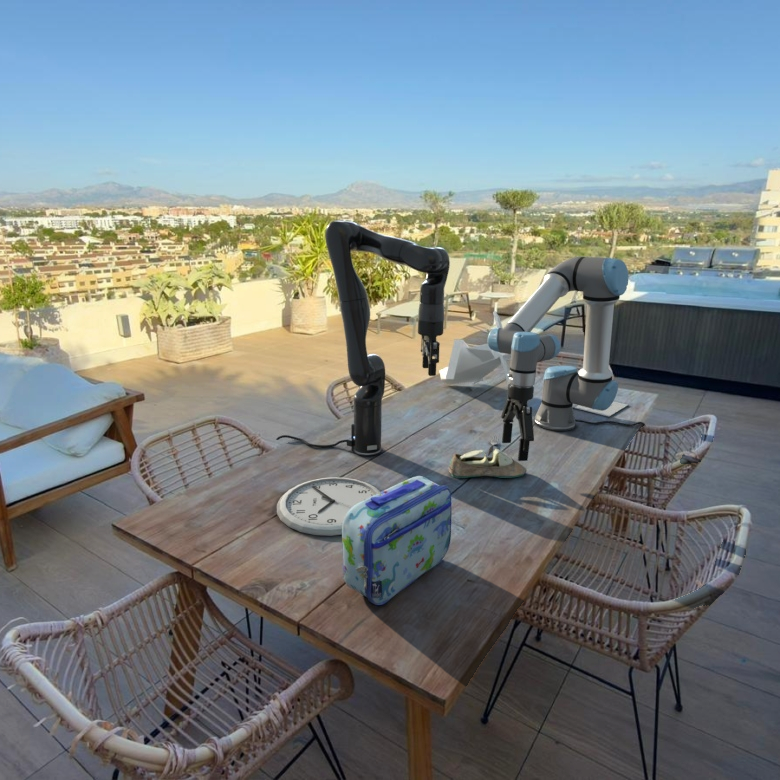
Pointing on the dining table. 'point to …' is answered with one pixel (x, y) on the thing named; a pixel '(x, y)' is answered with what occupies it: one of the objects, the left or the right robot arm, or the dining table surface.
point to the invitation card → (608, 412)
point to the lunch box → (395, 537)
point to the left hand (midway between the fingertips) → (428, 371)
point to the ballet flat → (485, 465)
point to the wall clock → (322, 504)
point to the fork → (493, 444)
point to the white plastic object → (473, 361)
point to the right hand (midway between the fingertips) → (514, 451)
